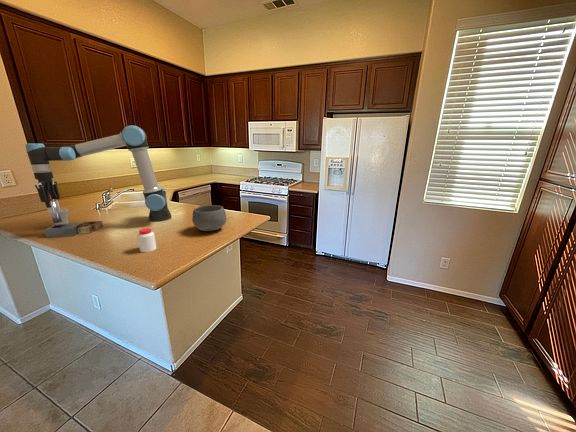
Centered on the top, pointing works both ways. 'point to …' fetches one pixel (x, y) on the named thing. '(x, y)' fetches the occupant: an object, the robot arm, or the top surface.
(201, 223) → the bowl
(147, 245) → the pill bottle
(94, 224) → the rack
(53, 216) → the cylinder
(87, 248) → the top surface
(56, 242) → the top surface
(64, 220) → the cup
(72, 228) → the socket block
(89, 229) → the tan square peg
